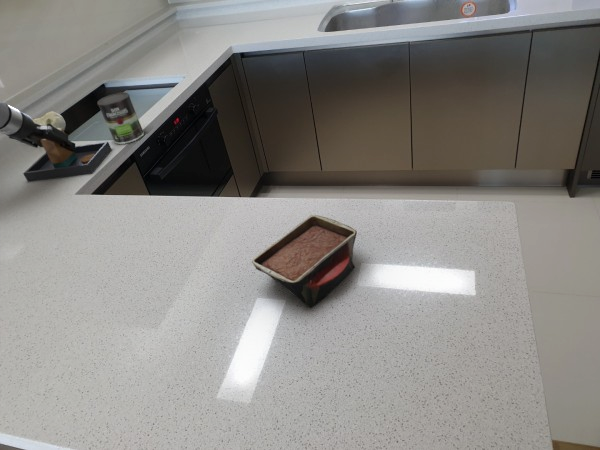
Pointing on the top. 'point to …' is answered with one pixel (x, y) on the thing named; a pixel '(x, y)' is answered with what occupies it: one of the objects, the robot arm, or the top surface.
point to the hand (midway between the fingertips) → (67, 148)
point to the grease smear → (87, 158)
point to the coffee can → (121, 118)
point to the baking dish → (310, 258)
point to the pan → (47, 171)
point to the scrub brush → (58, 153)
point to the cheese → (51, 120)
